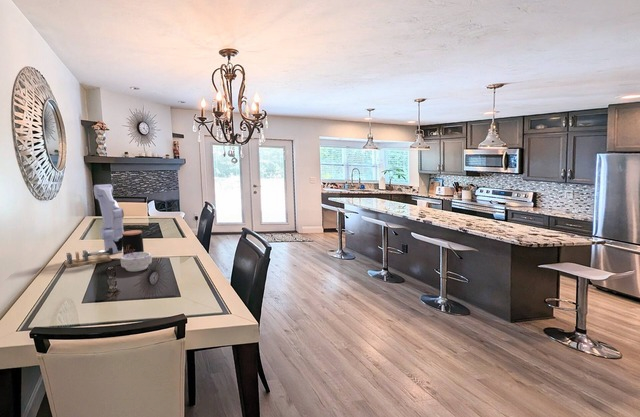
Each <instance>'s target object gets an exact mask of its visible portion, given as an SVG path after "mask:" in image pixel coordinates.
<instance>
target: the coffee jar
mask: <svg viewBox="0 0 640 417" xmlns="http://www.w3.org/2000/svg"><path fill="white" fill-rule="evenodd" d="M142 233H143V230H140V229H135V230H133V229H132V230H127V231H125V230H124V232H122V235H123V236H122V244H123V248H122V256H123V255H125V254H129V253H135V252H145V250H144V239H143V237H144V235H143V234H142Z"/></svg>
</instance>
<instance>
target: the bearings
mask: <svg viewBox="0 0 640 417" xmlns="http://www.w3.org/2000/svg"><path fill="white" fill-rule="evenodd" d="M88 253H89V252H88V251H87V250H82V254H84V257H82V258H83V260H85V261H89V260H88V258H89V256H88ZM80 259H81V258H80V253H79V251H75V260H76V261H77V262H80ZM72 260H73V257H72V254H71V252H66V261H67V262H68V263H69V264H72Z"/></svg>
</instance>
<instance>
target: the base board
mask: <svg viewBox="0 0 640 417" xmlns="http://www.w3.org/2000/svg"><path fill="white" fill-rule="evenodd" d="M79 259H80V262H77V261H76V259H72V264H69V263H68V262H67V260H64V261H63V263H64V265H65V267H66V268H68V269H69V268H75V267H77V268H78V267H82V266H87V265H95V264H100V263H106V262H112V257H110V256H109V255H106V254H100V255H94V256H88V260H89V261H85V260H83V257H82V258H79Z"/></svg>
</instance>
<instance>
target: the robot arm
mask: <svg viewBox="0 0 640 417" xmlns="http://www.w3.org/2000/svg"><path fill="white" fill-rule="evenodd" d="M113 192H114V187H113V185H112V184H111V183H107V184H94V185H93V193H94V194H93V195H94V198H95V200H97V201H98V204H99V208H100V213H101V217H102V221H103V224H102V226H101V227H100V228H99V234H100V239H102V240H103V243H104V244H103V248H104V250H108V248H112V249H113V254H114V255H115V254H120V253H123V244H122V236H123V235H122V232H125V230H124V219H123V218H124V217H125V216H124V215H125V214H124V210H123V208H121V207H120V206H119V204H118V201H117V200H115V199H114V197H113ZM113 254H112V255H113ZM105 255H107V256H109V253H107V254H105Z"/></svg>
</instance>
